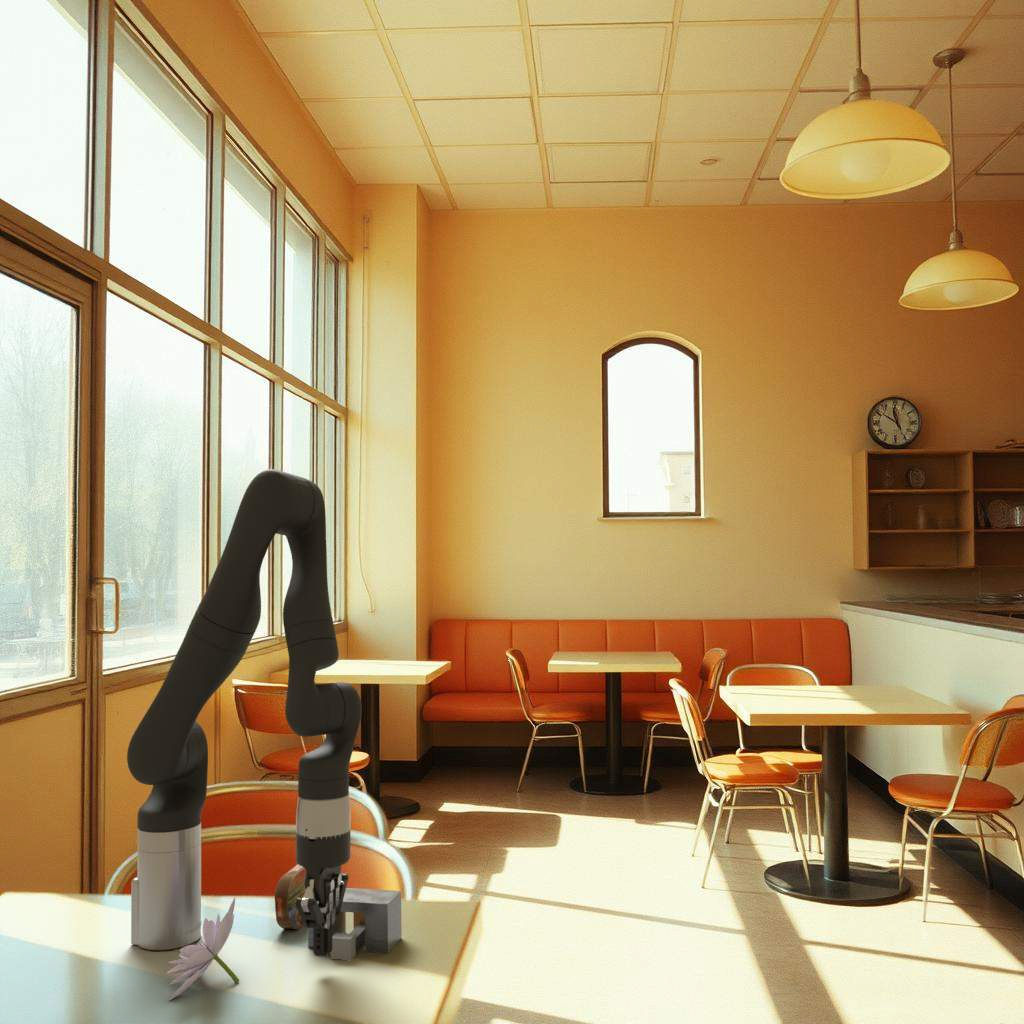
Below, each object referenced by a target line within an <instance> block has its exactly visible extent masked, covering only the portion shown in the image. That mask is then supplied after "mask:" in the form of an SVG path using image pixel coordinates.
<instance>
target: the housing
mask: <svg viewBox="0 0 1024 1024" xmlns="http://www.w3.org/2000/svg"><path fill="white" fill-rule="evenodd" d="M353 912H354V913H365V940H364V941H365V943H364V944H365V950H364V951H365V953H367V952H368V953H377V954H378V953H380V954H381V953H382V954H389V953H390V952H391V950H393V948H394V947H395V946H396V945H397V944H398V943H399V942H400V940H401V939H402V891H401V890H391V889H389V890H388V889H387V890H386V889H372V888H371V889H369V888H352V887H346V890H345V894H344V898H343V902H342V906H341V910H340V914H339V916H335V923H334V925H332V936H333V935H334V934H335V933H343V934H347V929H346V928H347V927H346V924H347V921H346V920H347V919H346V915H347V914H346V913H353ZM313 932H314V929H313V928H307V947H308V948H309V947H311V948H312V949H313Z"/></svg>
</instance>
